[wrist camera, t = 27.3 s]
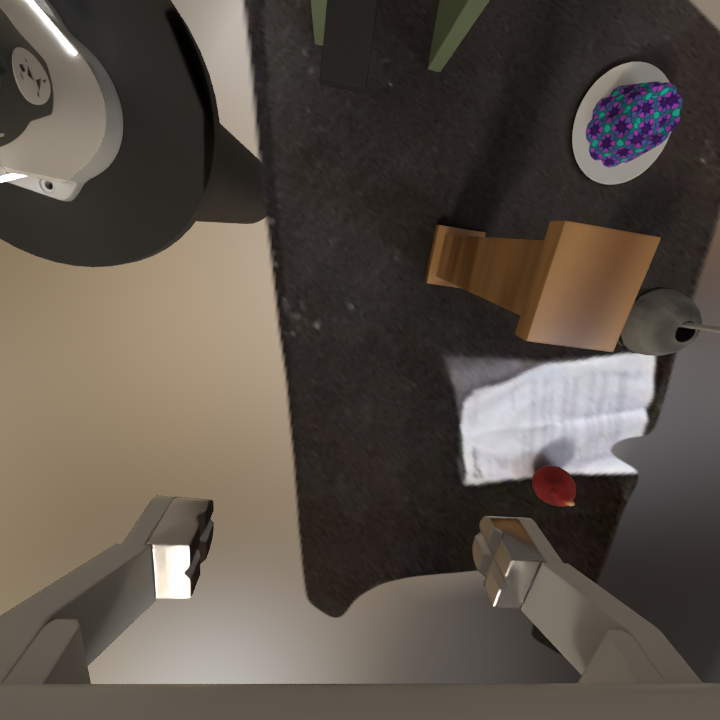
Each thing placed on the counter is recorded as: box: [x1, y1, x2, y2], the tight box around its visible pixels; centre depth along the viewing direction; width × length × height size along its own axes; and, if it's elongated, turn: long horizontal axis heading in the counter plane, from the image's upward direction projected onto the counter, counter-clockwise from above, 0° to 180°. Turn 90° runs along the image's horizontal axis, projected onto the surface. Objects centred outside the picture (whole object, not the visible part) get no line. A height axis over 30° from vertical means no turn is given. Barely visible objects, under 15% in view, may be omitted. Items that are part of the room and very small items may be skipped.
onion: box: [532, 466, 576, 507], centre depth 54 cm, size 6×6×8 cm
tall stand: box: [424, 221, 661, 352], centre depth 32 cm, size 6×7×26 cm
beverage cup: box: [617, 287, 720, 356], centre depth 38 cm, size 7×7×20 cm
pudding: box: [572, 62, 683, 185], centre depth 38 cm, size 12×12×5 cm
